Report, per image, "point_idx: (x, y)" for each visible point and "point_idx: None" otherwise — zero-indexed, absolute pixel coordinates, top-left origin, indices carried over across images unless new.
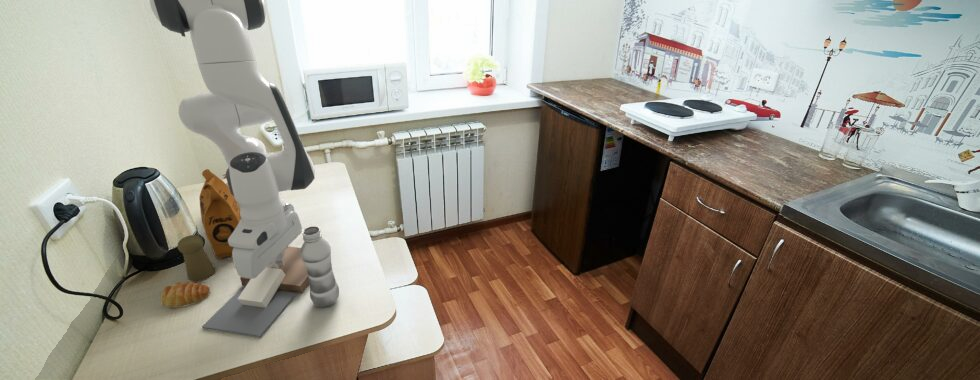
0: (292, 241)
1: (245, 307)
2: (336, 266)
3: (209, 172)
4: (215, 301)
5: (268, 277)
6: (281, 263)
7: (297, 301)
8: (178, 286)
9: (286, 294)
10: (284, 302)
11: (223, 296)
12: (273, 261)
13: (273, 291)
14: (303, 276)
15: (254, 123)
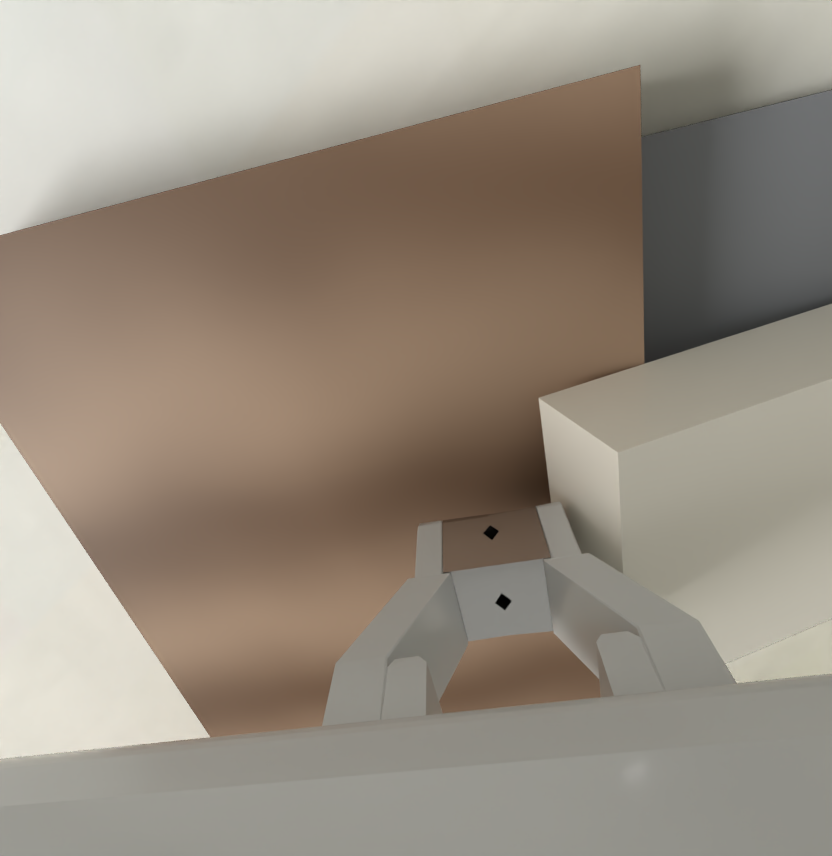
0: (94, 752)
1: None
2: (23, 67)
3: None
4: (800, 661)
5: (755, 503)
6: (469, 551)
7: (725, 35)
8: None
9: (680, 234)
10: (817, 142)
11: (746, 656)
12: (677, 651)
13: (795, 334)
14: (445, 190)
15: None
